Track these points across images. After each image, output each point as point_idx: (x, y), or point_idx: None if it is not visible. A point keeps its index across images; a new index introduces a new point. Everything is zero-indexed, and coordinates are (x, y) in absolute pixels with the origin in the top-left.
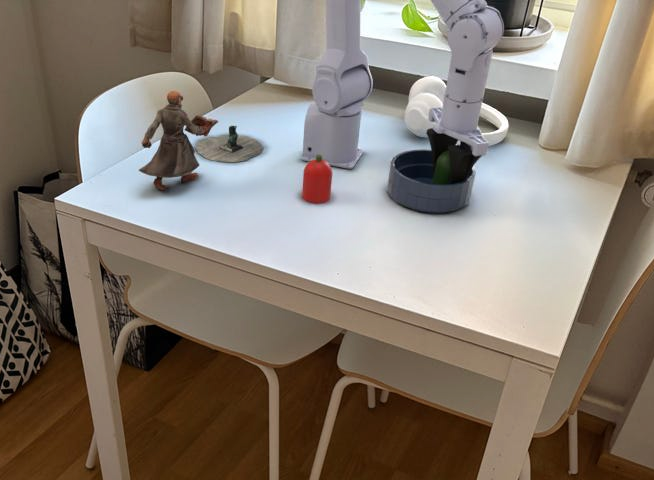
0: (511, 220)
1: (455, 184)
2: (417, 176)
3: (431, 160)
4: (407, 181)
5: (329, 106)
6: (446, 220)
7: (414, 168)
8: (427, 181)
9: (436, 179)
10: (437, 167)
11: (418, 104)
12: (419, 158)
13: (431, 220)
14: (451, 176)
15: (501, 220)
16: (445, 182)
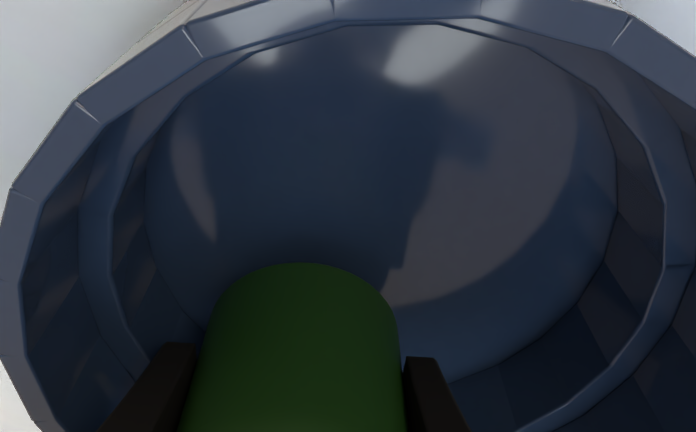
0: (7, 422)
1: (16, 374)
2: (589, 285)
3: (599, 427)
4: (211, 5)
5: None
6: (27, 154)
7: (630, 302)
8: (507, 303)
9: (290, 319)
10: (303, 401)
11: None
12: (665, 383)
13: (34, 58)
14: (127, 412)
15: (9, 391)
16: (212, 346)
